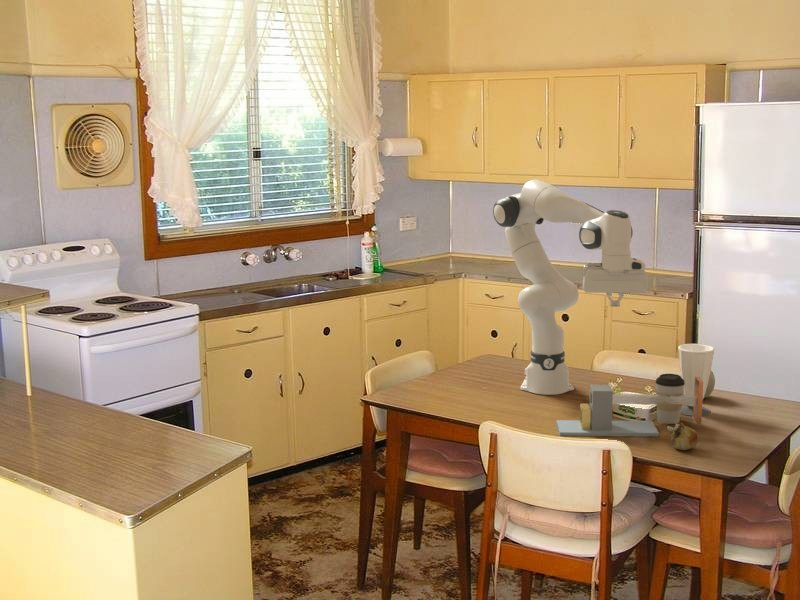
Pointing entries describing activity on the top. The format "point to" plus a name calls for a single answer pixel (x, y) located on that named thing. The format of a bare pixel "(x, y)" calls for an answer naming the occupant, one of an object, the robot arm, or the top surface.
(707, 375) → the cup
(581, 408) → the block
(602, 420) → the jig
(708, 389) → the fruit
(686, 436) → the onion
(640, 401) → the shaft
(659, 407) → the coffee cup
